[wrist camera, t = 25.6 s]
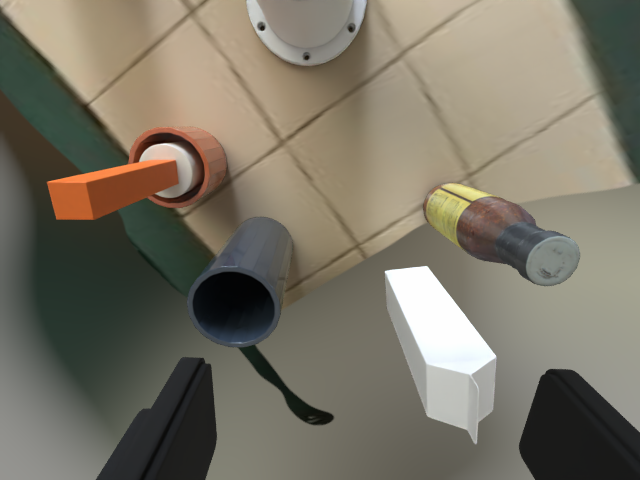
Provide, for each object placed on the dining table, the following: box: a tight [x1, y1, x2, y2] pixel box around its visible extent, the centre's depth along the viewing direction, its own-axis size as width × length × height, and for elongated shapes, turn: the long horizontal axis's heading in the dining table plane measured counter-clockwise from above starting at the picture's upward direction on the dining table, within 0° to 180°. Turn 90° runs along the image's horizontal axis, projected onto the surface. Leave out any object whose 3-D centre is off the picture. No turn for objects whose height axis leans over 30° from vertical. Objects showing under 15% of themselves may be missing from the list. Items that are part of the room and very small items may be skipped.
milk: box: [385, 266, 497, 444], centre depth 36 cm, size 6×6×22 cm
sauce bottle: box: [423, 183, 580, 286], centre depth 33 cm, size 6×6×20 cm
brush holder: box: [129, 127, 227, 208], centre depth 37 cm, size 8×8×7 cm
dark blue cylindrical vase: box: [187, 217, 293, 347], centre depth 37 cm, size 8×8×16 cm
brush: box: [47, 141, 205, 220], centre depth 30 cm, size 5×5×20 cm
